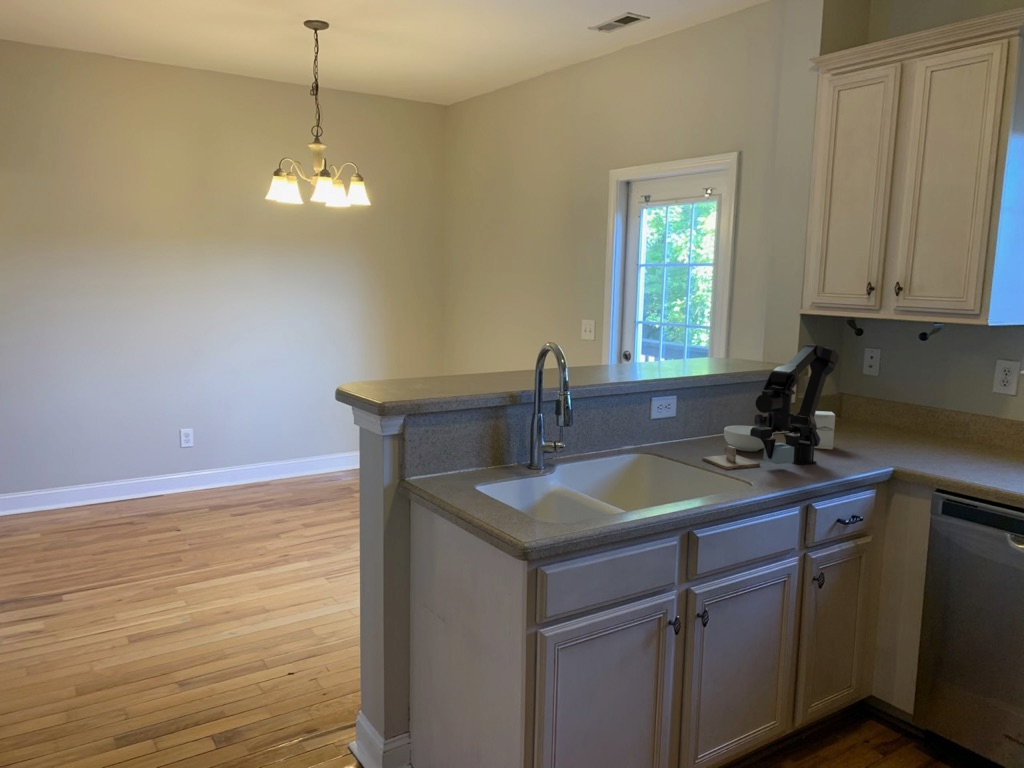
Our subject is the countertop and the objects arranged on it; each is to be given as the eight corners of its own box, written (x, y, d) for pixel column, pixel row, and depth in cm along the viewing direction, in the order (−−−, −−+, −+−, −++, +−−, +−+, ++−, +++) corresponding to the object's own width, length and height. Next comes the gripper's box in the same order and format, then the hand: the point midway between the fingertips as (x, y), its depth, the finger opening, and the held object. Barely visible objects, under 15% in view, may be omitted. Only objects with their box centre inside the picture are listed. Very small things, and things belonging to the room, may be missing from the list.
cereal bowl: (775, 455, 258) (776, 435, 257) (725, 453, 262) (726, 433, 261) (769, 445, 275) (770, 425, 274) (721, 442, 278) (722, 423, 277)
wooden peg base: (735, 457, 256) (735, 441, 255) (759, 466, 244) (760, 449, 243) (702, 460, 251) (702, 444, 251) (726, 469, 239) (726, 452, 238)
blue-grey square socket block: (779, 457, 244) (780, 442, 243) (793, 462, 238) (794, 447, 237) (763, 459, 242) (764, 444, 241) (776, 464, 236) (777, 448, 235)
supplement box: (811, 448, 269) (813, 413, 267) (808, 444, 276) (810, 410, 274) (833, 449, 267) (835, 414, 266) (829, 445, 275) (832, 411, 273)
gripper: (787, 403, 248) (785, 450, 250) (740, 406, 242) (738, 454, 244) (812, 409, 238) (809, 457, 240) (763, 412, 231) (760, 462, 233)
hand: (778, 457), depth 240 cm, fingers closed on blue-grey square socket block, 6 cm apart
